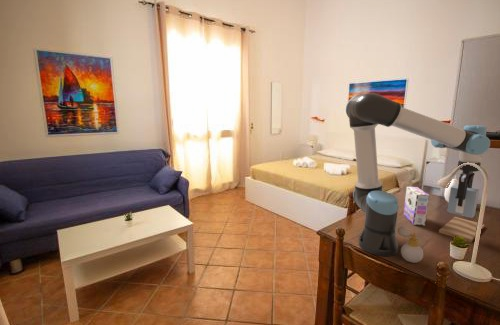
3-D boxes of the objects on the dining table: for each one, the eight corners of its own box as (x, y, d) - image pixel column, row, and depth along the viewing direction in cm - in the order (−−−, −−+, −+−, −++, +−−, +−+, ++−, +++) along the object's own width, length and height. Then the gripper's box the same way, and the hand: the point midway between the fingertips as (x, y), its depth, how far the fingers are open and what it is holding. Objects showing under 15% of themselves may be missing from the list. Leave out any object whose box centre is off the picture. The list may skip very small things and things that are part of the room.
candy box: (425, 226, 129) (430, 195, 126) (412, 225, 130) (416, 194, 127) (414, 214, 142) (418, 186, 139) (402, 214, 143) (406, 185, 140)
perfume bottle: (420, 268, 96) (424, 239, 93) (391, 259, 102) (394, 231, 99) (423, 259, 101) (427, 231, 99) (395, 251, 108) (399, 224, 105)
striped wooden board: (470, 242, 113) (471, 240, 113) (438, 232, 123) (439, 230, 122) (484, 226, 128) (484, 224, 127) (454, 218, 137) (454, 216, 137)
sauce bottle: (449, 205, 154) (453, 176, 151) (440, 201, 162) (444, 173, 158) (462, 205, 154) (467, 176, 150) (452, 201, 162) (457, 173, 158)
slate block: (471, 218, 113) (476, 192, 110) (447, 211, 120) (450, 187, 117) (474, 215, 116) (479, 189, 113) (450, 209, 123) (454, 185, 120)
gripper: (475, 165, 104) (465, 219, 109) (485, 159, 115) (476, 208, 120) (452, 162, 110) (444, 213, 115) (464, 157, 121) (456, 203, 126)
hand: (461, 210), depth 117 cm, fingers closed on slate block, 5 cm apart
